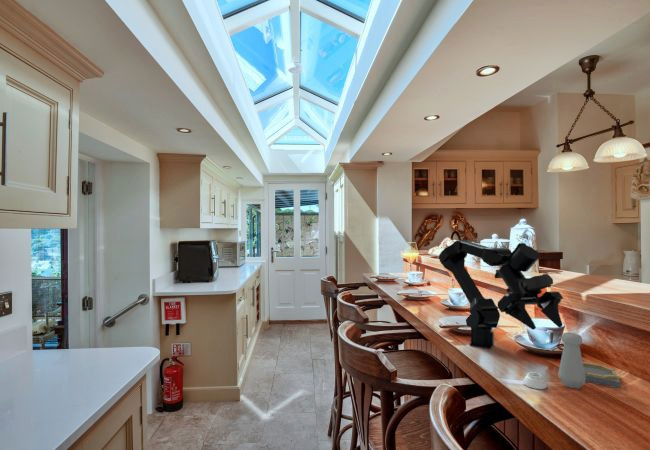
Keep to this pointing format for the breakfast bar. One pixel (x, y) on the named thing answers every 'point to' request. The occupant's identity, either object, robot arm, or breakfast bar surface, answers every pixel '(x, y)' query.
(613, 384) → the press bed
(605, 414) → the breakfast bar surface
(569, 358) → the salt shaker
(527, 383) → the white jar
